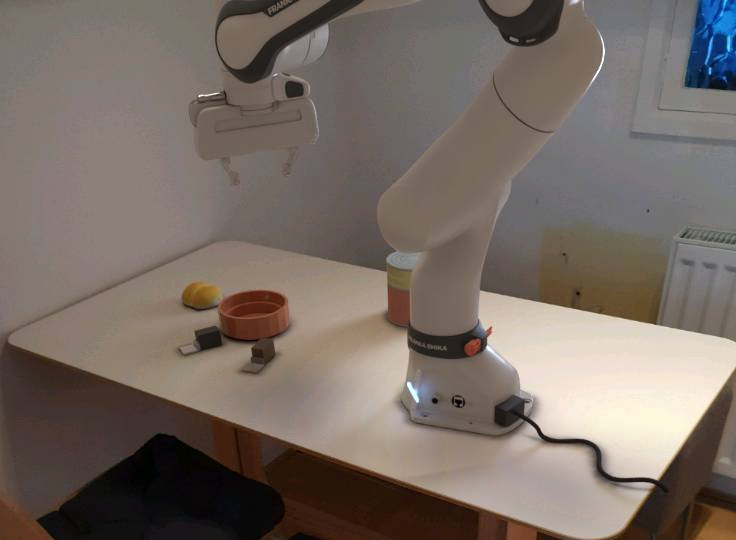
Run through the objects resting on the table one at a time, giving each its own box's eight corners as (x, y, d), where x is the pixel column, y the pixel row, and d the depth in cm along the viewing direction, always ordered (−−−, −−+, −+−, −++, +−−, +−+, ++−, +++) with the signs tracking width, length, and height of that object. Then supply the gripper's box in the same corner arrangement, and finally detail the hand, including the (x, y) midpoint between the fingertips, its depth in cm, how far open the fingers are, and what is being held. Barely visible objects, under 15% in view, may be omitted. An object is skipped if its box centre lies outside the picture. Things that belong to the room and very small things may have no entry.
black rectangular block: (217, 339, 164) (215, 324, 162) (222, 345, 162) (220, 330, 160) (179, 349, 162) (176, 334, 160) (184, 355, 159) (181, 340, 158)
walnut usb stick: (263, 352, 159) (261, 337, 157) (276, 354, 158) (274, 339, 156) (242, 371, 153) (240, 355, 151) (256, 373, 152) (254, 358, 150)
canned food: (449, 322, 165) (451, 264, 158) (396, 330, 163) (394, 272, 156) (432, 300, 174) (433, 245, 166) (381, 308, 172) (379, 252, 165)
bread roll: (204, 313, 175) (201, 295, 172) (177, 304, 179) (173, 286, 177) (232, 299, 180) (229, 282, 177) (204, 291, 184) (201, 273, 182)
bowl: (303, 320, 169) (301, 297, 166) (261, 347, 160) (258, 324, 157) (250, 307, 176) (247, 285, 173) (207, 333, 167) (203, 310, 164)
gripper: (191, 100, 122) (205, 195, 130) (319, 82, 127) (324, 175, 136) (181, 92, 126) (196, 184, 135) (305, 76, 132) (311, 165, 141)
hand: (261, 179), depth 135 cm, fingers open, 8 cm apart
